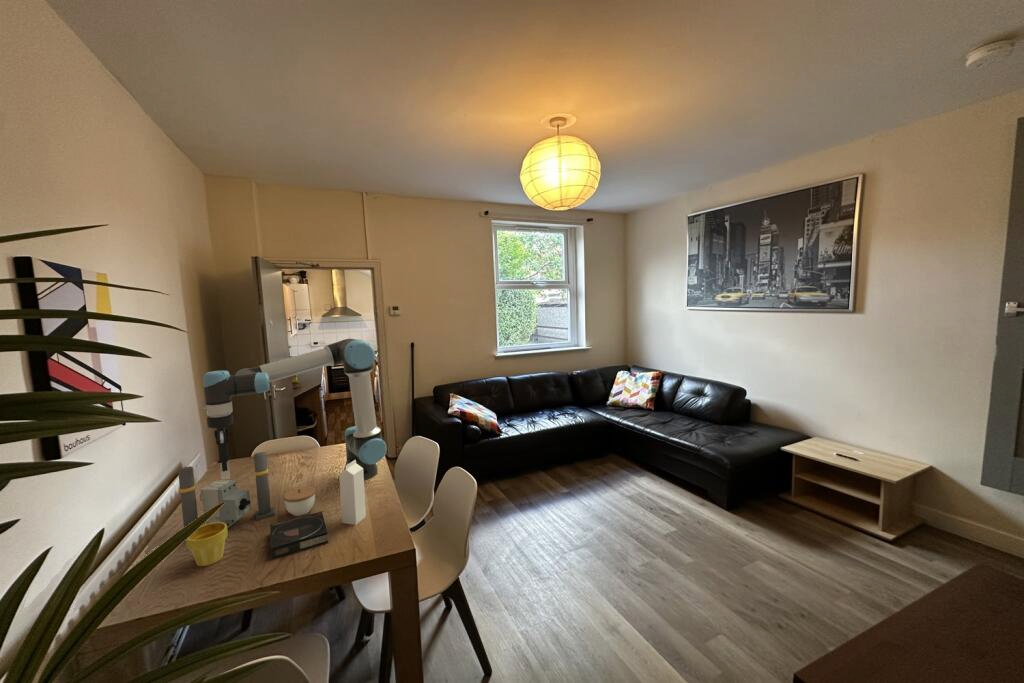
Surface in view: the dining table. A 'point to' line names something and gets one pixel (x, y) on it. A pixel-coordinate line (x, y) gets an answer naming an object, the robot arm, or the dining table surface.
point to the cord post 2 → (262, 487)
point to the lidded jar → (299, 500)
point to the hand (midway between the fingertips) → (225, 478)
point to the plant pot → (208, 543)
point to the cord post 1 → (187, 494)
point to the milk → (352, 494)
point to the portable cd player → (297, 534)
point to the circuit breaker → (228, 493)
